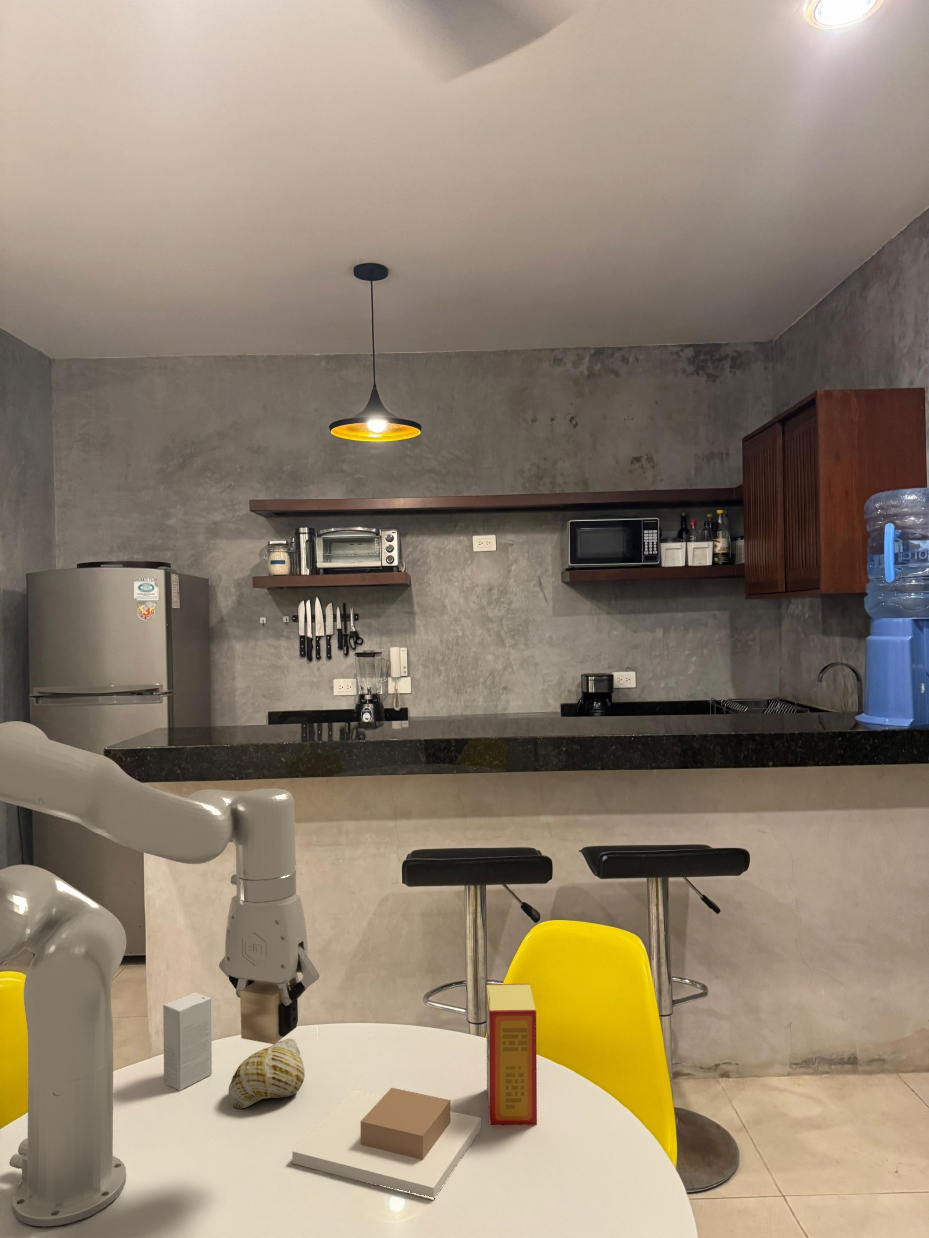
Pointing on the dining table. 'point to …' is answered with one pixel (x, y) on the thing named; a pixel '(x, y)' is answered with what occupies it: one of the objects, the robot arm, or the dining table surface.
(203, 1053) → the skincare box
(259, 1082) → the seashell
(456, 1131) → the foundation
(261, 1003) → the oak block
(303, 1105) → the dining table surface
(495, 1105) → the baking soda box
